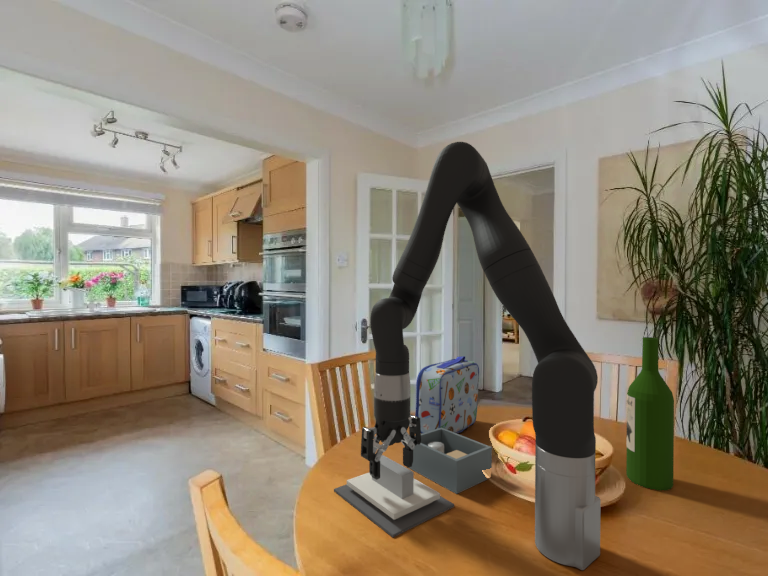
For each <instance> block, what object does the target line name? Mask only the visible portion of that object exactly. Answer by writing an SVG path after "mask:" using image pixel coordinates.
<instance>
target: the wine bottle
mask: <svg viewBox="0 0 768 576" xmlns="http://www.w3.org/2000/svg"><path fill="white" fill-rule="evenodd" d="M674 428H675V398H674V394H673V392H672V389H671V388H670V387H669V385H668V384H667V383H666V381H665V380H664V378H663V376H662V375H661V373H660V371H659V338H657V337H653V336H652V337H650V336H645V337H642V357H641V370H640V372H639V373H638V375H637V376H636V377H635V379H634V380H633V381H632V382H631V383H630V385H628V388H627V392H626V444H625V445H626V458H625V459H626V462H625V463H626V467H625V468H626V474H625V475H626V477H627V479H628V478H629V479H630V480H631V481H632V482H631V481H630V480H629V479H628V480H629V481H630V482H631V483H633V482H634V483H633V484H634V485H637V484H638V485H637V486H639V485H640V486H639V487H641V486H643V487H642V488H644V487H645V489H648V488H650V490H652V489H655V490H654V491H662V490H664V491H669V490H672V489H673V487H674V465H675V464H674V459H675V458H674V453H675V452H674V451H675V448H674V447H675V443H674V442H675V441H674V440H675V439H674V438H675V437H674V436H675V433H674V432H675V429H674Z"/></svg>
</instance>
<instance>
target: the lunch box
mask: <svg viewBox="0 0 768 576" xmlns="http://www.w3.org/2000/svg"><path fill="white" fill-rule="evenodd" d="M479 383H480V367H479V365H478V363H477V362H476V361H470V360H467V359H466V356H457V357H456V358H452V359H449V360H446V361H441V362H436V363H433V364H429V365H426V366H424V367H422V368H421V369H420V371H419V372H418V374H417V376H416V383H415V386H416V389H415V414H414V416H417V417H419V418H420V425H421V434H422V433H425V432H429V431H432V430H435V429H438V428H444V429H446V430H449V431H451V432H454V433H457V434H459V433H462V432H463V431H464V430H466V429H467V428H469V427H470V426H472V425H474V424H475V422H476V420H477V417H478V401H479V399H478V398H479V396H478V395H479V385H480V384H479Z"/></svg>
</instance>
